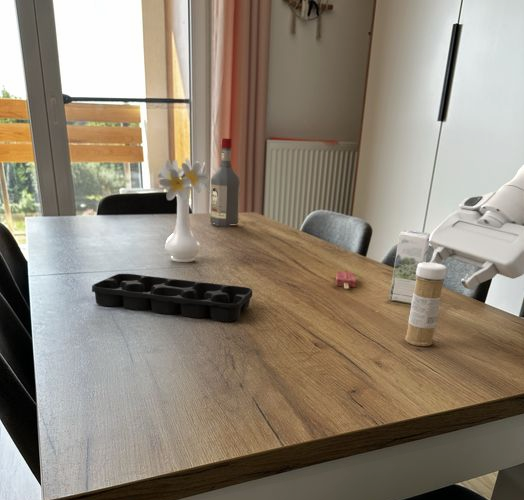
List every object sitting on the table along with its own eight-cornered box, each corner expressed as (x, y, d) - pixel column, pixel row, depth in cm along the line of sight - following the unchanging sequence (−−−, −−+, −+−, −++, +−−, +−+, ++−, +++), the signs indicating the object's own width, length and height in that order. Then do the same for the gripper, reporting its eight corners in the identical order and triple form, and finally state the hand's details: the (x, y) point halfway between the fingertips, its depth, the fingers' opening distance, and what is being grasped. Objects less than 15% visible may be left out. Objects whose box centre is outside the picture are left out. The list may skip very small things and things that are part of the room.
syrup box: (419, 299, 113) (431, 232, 107) (415, 305, 108) (427, 236, 102) (393, 294, 115) (404, 229, 109) (388, 301, 110) (398, 232, 104)
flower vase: (157, 268, 125) (154, 159, 116) (161, 252, 142) (159, 156, 133) (210, 269, 127) (212, 162, 118) (208, 253, 144) (210, 158, 135)
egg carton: (109, 288, 107) (108, 271, 106) (253, 297, 107) (253, 279, 106) (80, 315, 91) (78, 294, 89) (249, 325, 91) (250, 304, 89)
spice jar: (423, 337, 90) (437, 261, 85) (437, 346, 86) (453, 267, 81) (399, 338, 89) (412, 261, 84) (413, 348, 85) (427, 268, 80)
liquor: (226, 222, 199) (229, 138, 188) (241, 225, 193) (244, 139, 181) (207, 223, 194) (208, 137, 182) (221, 227, 187) (223, 138, 176)
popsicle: (336, 283, 114) (335, 269, 128) (336, 291, 114) (335, 276, 128) (357, 285, 113) (354, 271, 127) (356, 293, 114) (353, 278, 128)
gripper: (567, 244, 77) (500, 310, 77) (473, 222, 94) (419, 275, 95) (553, 213, 73) (483, 282, 74) (458, 196, 91) (402, 252, 92)
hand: (446, 278), depth 85 cm, fingers open, 8 cm apart
